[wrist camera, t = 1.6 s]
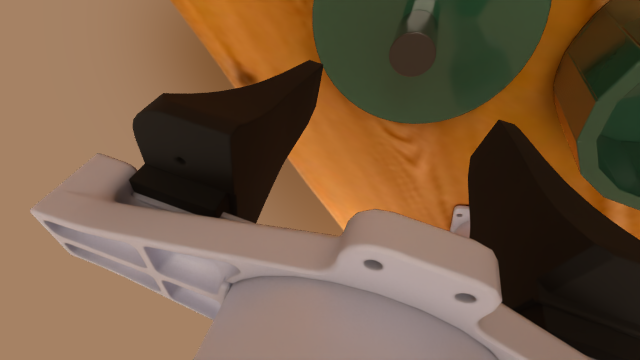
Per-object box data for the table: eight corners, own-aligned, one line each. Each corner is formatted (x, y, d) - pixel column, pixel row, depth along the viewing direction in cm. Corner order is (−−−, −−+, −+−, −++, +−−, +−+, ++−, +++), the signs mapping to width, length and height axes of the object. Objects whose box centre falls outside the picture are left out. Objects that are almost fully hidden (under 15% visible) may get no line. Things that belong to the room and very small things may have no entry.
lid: (512, 117, 22) (521, 159, 19) (332, 114, 26) (316, 147, 23) (594, -158, 13) (638, -163, 10) (298, -94, 17) (264, -83, 14)
